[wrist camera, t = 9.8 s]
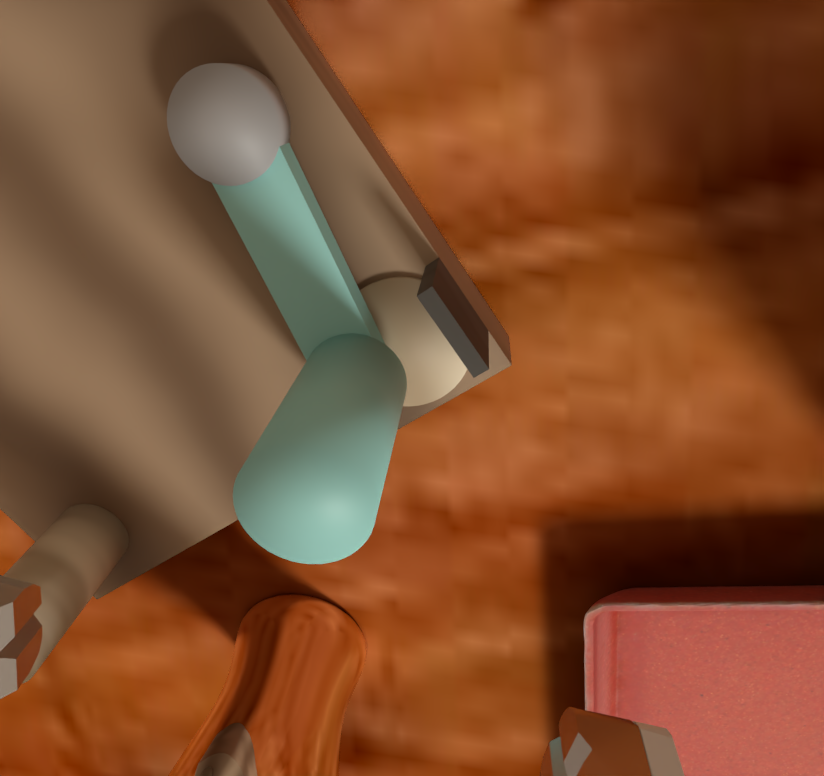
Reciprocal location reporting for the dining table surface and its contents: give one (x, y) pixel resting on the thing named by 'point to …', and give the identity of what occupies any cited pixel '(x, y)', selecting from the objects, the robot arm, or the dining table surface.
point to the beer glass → (281, 694)
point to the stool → (175, 284)
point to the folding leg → (296, 325)
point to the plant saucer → (715, 673)
